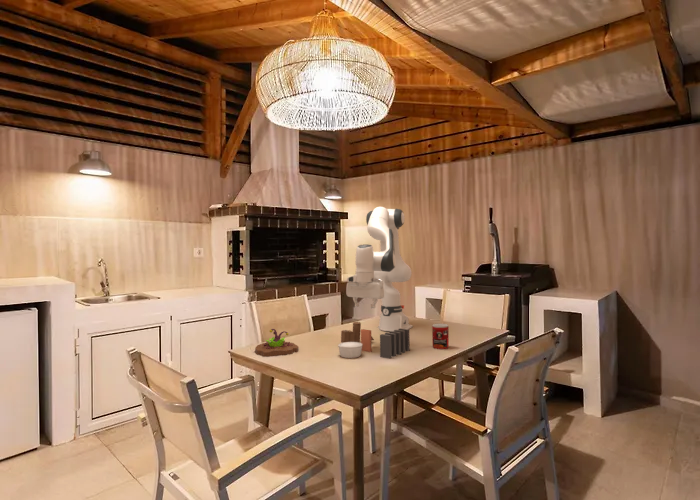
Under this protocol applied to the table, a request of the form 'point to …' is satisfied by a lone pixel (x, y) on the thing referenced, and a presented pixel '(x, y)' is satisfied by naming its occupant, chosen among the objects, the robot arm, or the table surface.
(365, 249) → the robot arm
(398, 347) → the tile
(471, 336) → the table surface
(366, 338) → the tile
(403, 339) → the tile
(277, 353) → the plant
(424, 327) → the table surface
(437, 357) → the table surface
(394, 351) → the tile
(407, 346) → the tile
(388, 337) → the tile
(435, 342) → the canned food
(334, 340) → the table surface
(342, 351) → the ramekin
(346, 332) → the wooden block set
